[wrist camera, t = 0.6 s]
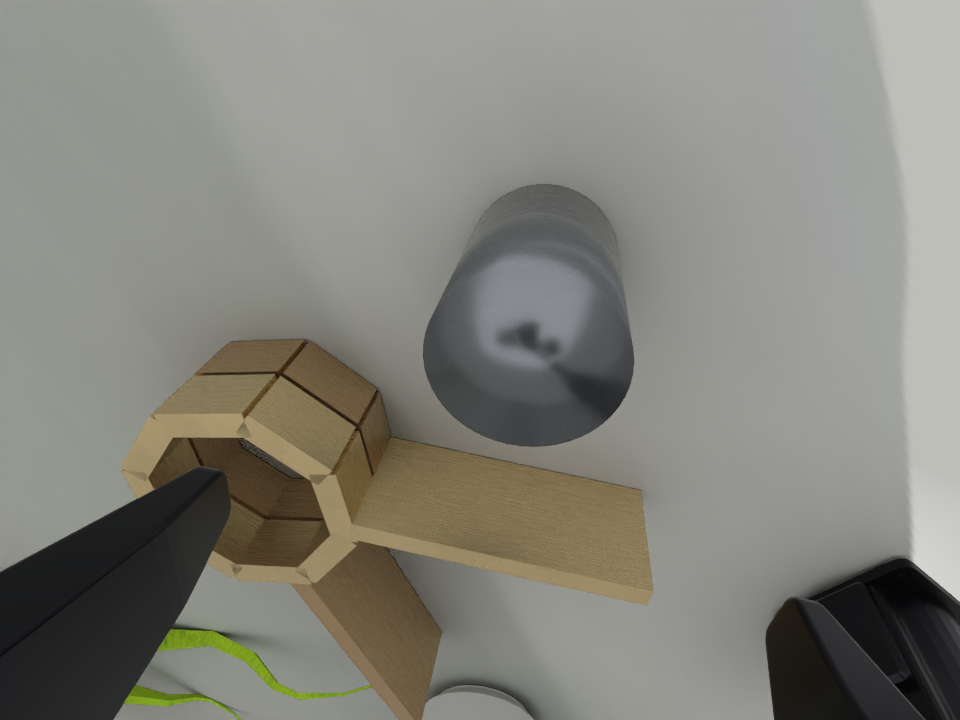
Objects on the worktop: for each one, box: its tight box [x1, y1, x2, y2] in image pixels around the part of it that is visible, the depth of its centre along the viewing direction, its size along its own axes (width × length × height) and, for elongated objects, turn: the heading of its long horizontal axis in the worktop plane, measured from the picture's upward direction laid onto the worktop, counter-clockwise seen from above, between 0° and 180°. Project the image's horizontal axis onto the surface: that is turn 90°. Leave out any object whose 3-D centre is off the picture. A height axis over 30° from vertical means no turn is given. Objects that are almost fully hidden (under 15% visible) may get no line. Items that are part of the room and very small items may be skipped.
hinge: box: [121, 339, 653, 720], centre depth 24 cm, size 18×16×5 cm
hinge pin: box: [423, 184, 634, 447], centre depth 16 cm, size 5×5×7 cm
